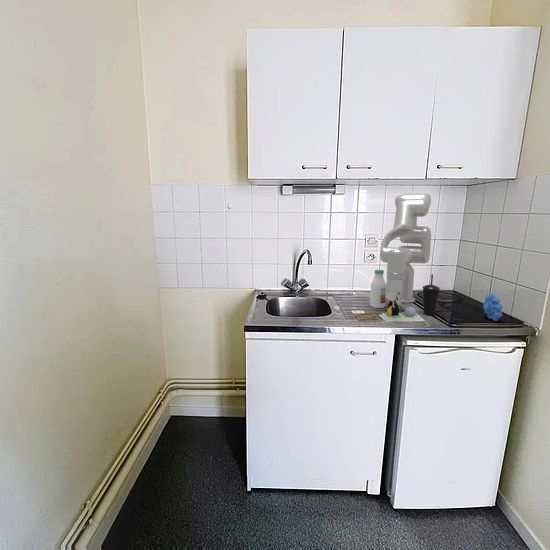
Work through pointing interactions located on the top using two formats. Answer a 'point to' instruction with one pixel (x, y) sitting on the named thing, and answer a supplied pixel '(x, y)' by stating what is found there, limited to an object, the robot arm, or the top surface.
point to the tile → (358, 312)
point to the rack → (401, 318)
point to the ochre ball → (390, 310)
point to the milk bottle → (378, 290)
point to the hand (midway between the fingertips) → (392, 313)
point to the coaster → (367, 317)
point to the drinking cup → (430, 298)
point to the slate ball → (410, 312)
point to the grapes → (492, 307)
